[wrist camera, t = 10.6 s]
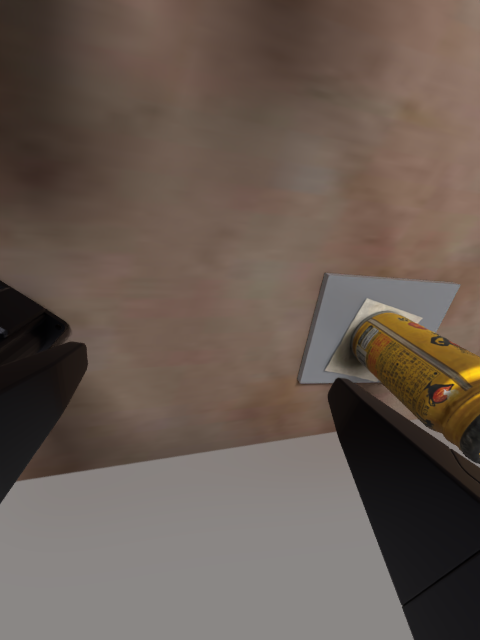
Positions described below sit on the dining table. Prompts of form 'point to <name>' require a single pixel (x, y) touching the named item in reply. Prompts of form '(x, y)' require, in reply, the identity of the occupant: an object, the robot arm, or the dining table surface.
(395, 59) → the dining table surface
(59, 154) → the dining table surface
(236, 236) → the dining table surface
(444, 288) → the board
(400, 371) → the condiment
